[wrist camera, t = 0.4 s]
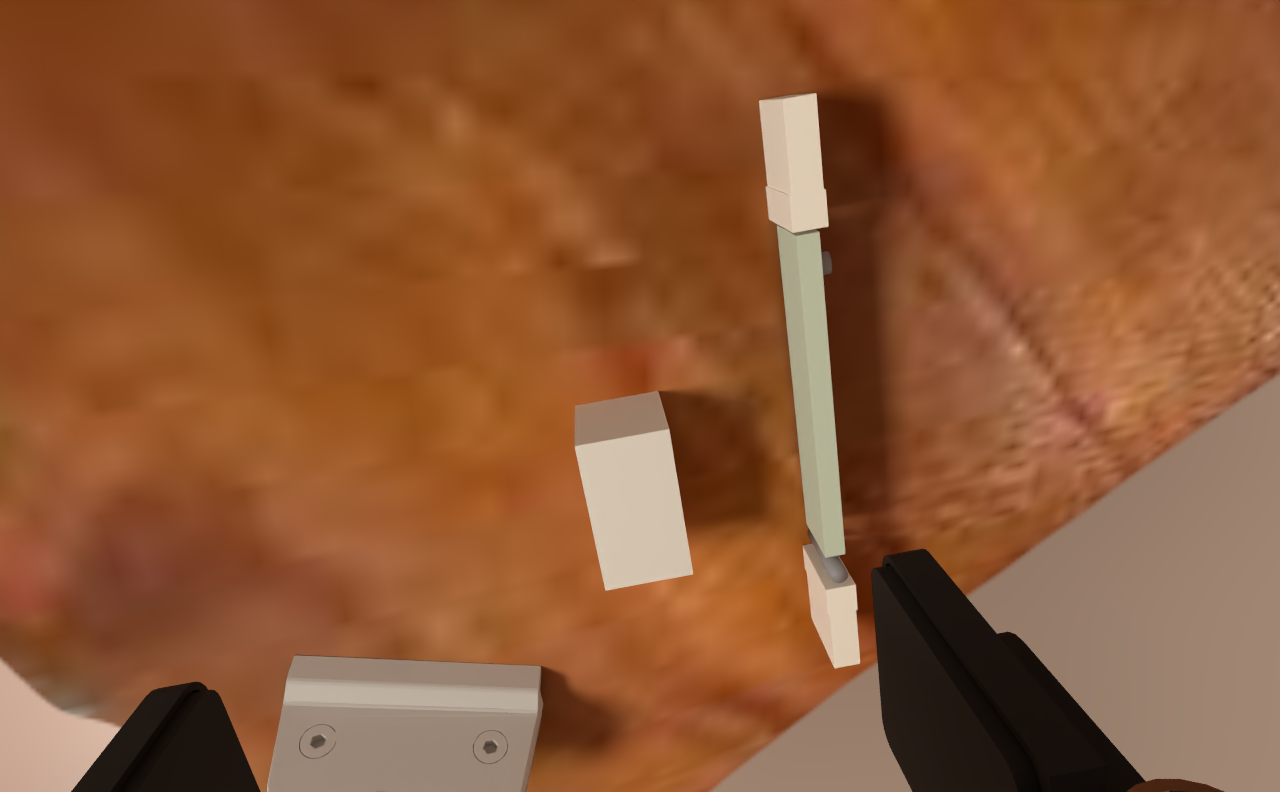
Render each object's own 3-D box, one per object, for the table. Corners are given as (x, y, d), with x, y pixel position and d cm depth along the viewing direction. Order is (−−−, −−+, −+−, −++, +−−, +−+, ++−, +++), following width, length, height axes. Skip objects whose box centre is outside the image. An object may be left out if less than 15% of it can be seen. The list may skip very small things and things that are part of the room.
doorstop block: (575, 405, 46) (574, 446, 40) (658, 390, 46) (669, 429, 40) (602, 535, 49) (605, 590, 43) (679, 521, 49) (693, 574, 43)
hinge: (546, 666, 52) (535, 825, 44) (542, 702, 55) (532, 856, 47) (288, 654, 50) (230, 818, 42) (298, 692, 53) (246, 851, 45)
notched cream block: (757, 100, 40) (780, 99, 36) (790, 94, 40) (818, 92, 36) (810, 618, 52) (832, 668, 47) (836, 613, 52) (861, 663, 47)
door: (837, 534, 50) (863, 578, 45) (806, 540, 50) (830, 584, 45) (810, 217, 43) (839, 230, 38) (775, 224, 43) (799, 237, 38)
